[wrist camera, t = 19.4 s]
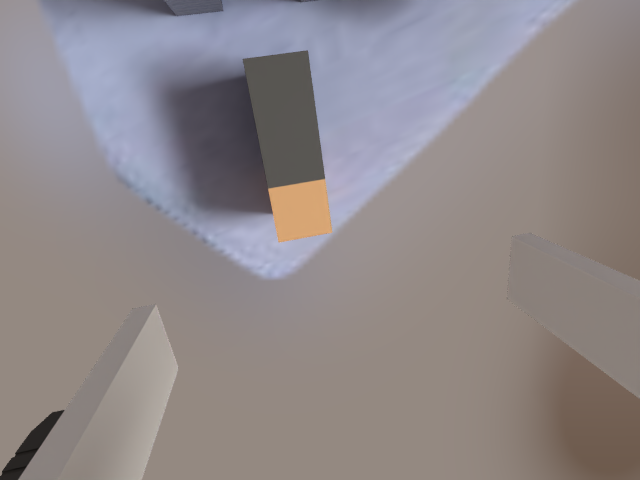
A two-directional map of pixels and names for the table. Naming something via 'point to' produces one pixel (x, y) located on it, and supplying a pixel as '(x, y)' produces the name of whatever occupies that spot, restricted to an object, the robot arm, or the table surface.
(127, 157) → the table surface
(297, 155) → the grey and orange block
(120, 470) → the robot arm
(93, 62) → the table surface
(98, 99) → the table surface
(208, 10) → the grey piece
